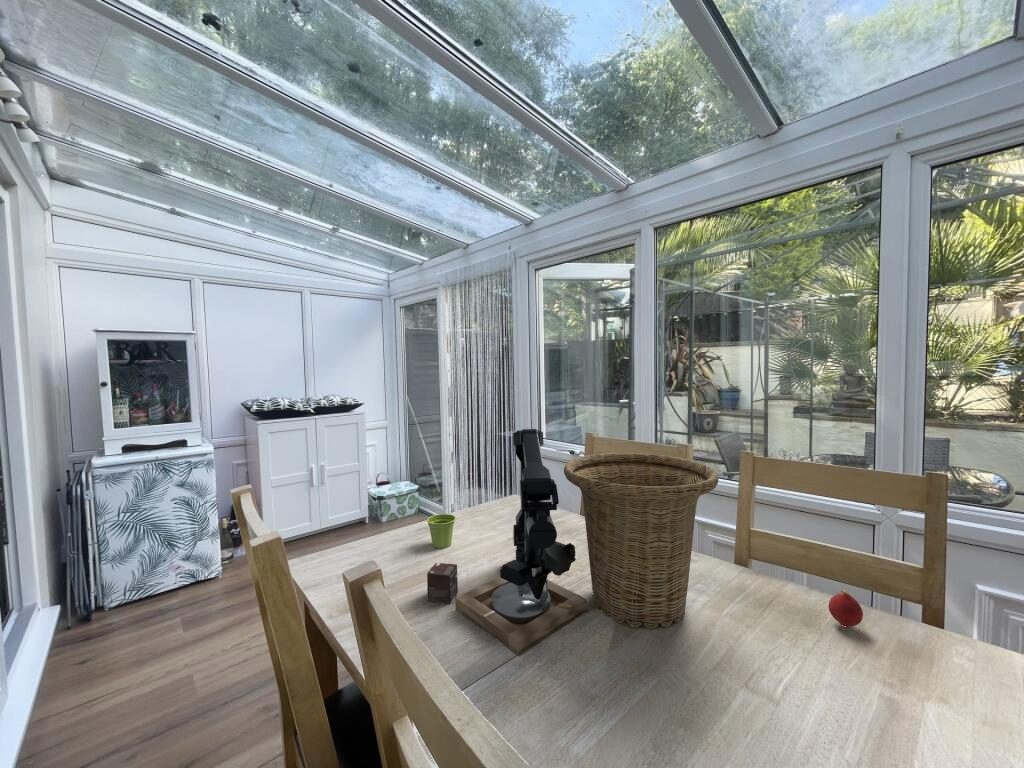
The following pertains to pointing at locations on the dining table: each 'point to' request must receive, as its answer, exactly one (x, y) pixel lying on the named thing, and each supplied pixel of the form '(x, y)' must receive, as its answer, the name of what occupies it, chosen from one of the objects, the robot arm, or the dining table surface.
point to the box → (442, 583)
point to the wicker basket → (640, 531)
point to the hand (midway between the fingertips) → (537, 598)
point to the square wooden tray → (527, 634)
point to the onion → (845, 609)
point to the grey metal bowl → (520, 603)
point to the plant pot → (441, 529)
